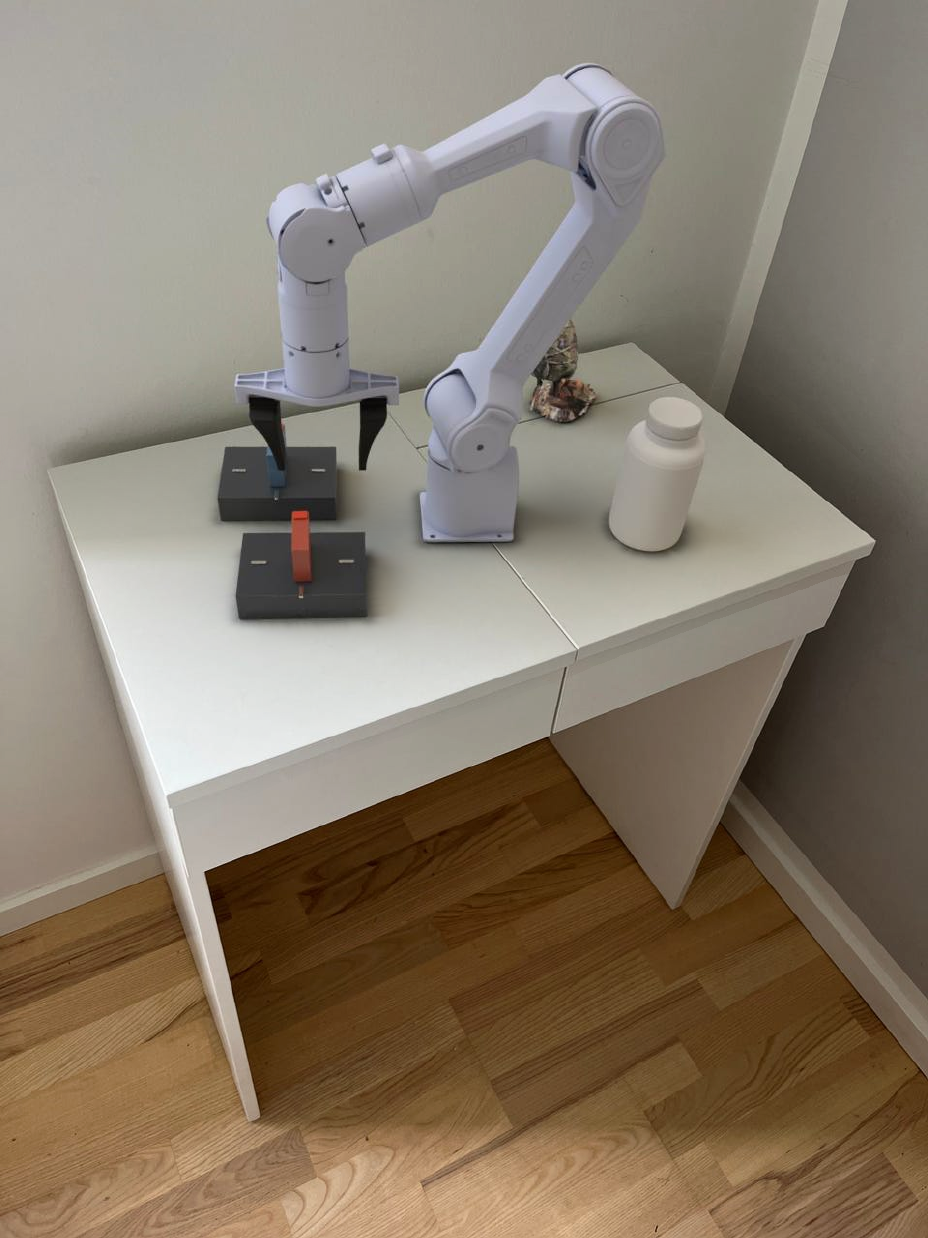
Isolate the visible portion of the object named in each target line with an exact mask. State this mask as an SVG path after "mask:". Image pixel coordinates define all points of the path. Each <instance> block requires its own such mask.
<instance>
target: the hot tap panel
mask: <svg viewBox="0 0 928 1238" xmlns="http://www.w3.org/2000/svg"><path fill="white" fill-rule="evenodd" d="M310 535H311V581H309V582H294V573H293V562H292V551H291V543H292V532H242V537H241V547H240V554H239V564H238V572H237V578H236V579H237V580H236V588H235V603H236V609H237V616H238V619H239V620H250V619H252V620H255V619H256V620H257V619H258V620H259V619H311V618H312V619H313V618H366V617H367V616H368V615H367V614H368V612H367V611H368V610H367V608H368V606H367V603H368V602H367V557H366V555H367V554H366V552H367V551H366V550H367V549H366V532H365V531H333V532H332V531H329V532H328V531H322V532H319V531H317V532H316V531H313V532H311V531H310Z"/></svg>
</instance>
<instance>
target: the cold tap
mask: <svg viewBox="0 0 928 1238" xmlns="http://www.w3.org/2000/svg"><path fill="white" fill-rule="evenodd" d="M282 431H283V436H284V442H285V449H286V465H285V471H279V470H278V469H277V465H276V462H275V459H274V457H273V454H272V452H271V450H270V448H269V446H268V445H267V446H266V447H267V464H268V473H269V483H270V487H285V485H286V471H287V456H288V455H287V447H288V446H287V445H288V444H287V434H286V433H287V432H286V424H284V423H282Z"/></svg>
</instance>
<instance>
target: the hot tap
mask: <svg viewBox="0 0 928 1238" xmlns="http://www.w3.org/2000/svg"><path fill="white" fill-rule="evenodd" d="M310 522H311V520H309V512H307V511H293V512H292V520H291V533H292V543H291V551H292V562H293V573H294V582H309V581H311V535H310V532H311V523H310Z"/></svg>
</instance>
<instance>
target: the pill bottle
mask: <svg viewBox="0 0 928 1238" xmlns="http://www.w3.org/2000/svg"><path fill="white" fill-rule="evenodd" d="M703 417H704V416H703V412H702V411H701V409H700V408H699V407H698V406H697V405H695V404H694V403H693V402H691V401H689V400H687V399H684V398H680V397H675V396H665V397H664V396H663V397H659V398H656V399H654V400H653V401H652V402H651V403H650V404H649V405H648V407H647V411H646V416H645V419H644V420H642V421H640V422H638V423H637V424H636V425H634V426H633V428H632V429H631V430H630V432H629V433H628V435H627V438H626V441H625V446H624V450H623V455H622V459H621V462H620V467H619V471H618V475H617V480H616V485H615V488H614V491H613V492H614V493H613V497H612V502H611V506H610V510H609V514H608V526H609V531H610V532H611V533H612V535H613V536H614V537H615V539H617V540H618V541H619V542H620V543H622V544H623V545H625V546H626V547H630V548H632V549H635V550H638V551H644V552H660V551H664V550H667V549H669V548H671V547H673V546H674V545H675V544H676V543H677V542H678V541H679V540H680V537H681V535H682V533H683V530H684V527H685V524H686V520H687V517H688V514H689V511H690V507H691V504H692V501H693V498H694V495H695V492H696V489H697V485H698V483H699V478H700V476H701V472H702V469H703V465H704V462H705V459H706V455H707V447H706V442H705V440H704V437H703V436H702V434H701V433H700V430H701V426H702V423H703V419H704V418H703Z"/></svg>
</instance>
